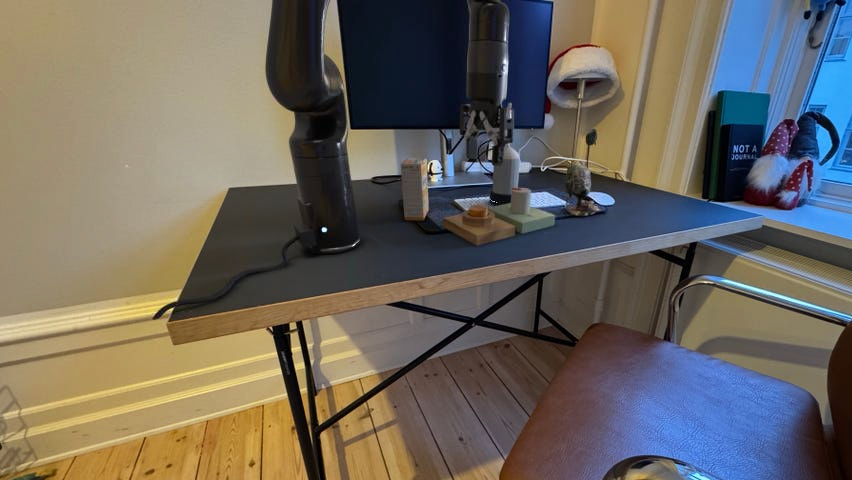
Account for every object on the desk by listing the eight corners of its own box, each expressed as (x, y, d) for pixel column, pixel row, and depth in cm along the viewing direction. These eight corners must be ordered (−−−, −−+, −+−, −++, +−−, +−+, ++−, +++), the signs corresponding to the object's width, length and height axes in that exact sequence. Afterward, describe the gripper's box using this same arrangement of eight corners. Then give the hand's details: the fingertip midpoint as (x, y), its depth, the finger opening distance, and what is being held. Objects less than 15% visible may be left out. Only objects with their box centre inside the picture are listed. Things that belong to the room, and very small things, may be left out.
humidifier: (522, 200, 103) (529, 103, 92) (515, 208, 96) (522, 104, 85) (494, 197, 105) (498, 102, 94) (486, 205, 98) (488, 102, 87)
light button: (476, 219, 76) (476, 211, 75) (465, 214, 79) (465, 206, 78) (491, 216, 78) (491, 208, 77) (480, 211, 81) (480, 204, 80)
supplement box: (424, 221, 86) (421, 163, 80) (404, 220, 86) (399, 163, 80) (429, 210, 93) (427, 157, 87) (410, 210, 93) (407, 156, 87)
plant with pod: (552, 209, 96) (561, 128, 87) (588, 206, 99) (601, 127, 90) (569, 219, 89) (580, 131, 80) (607, 215, 92) (623, 130, 83)
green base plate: (521, 233, 79) (522, 222, 78) (485, 217, 89) (486, 207, 87) (554, 225, 85) (555, 214, 83) (517, 211, 94) (517, 201, 93)
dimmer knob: (531, 209, 87) (533, 187, 84) (527, 215, 83) (528, 191, 81) (513, 207, 88) (514, 185, 86) (508, 212, 84) (509, 189, 82)
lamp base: (476, 245, 73) (476, 226, 71) (443, 227, 82) (442, 209, 80) (514, 235, 78) (515, 217, 76) (479, 219, 88) (479, 203, 86)
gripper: (449, 70, 70) (449, 157, 78) (495, 69, 60) (491, 169, 68) (480, 72, 74) (477, 155, 82) (528, 72, 64) (521, 166, 72)
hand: (483, 161), depth 75 cm, fingers open, 8 cm apart
